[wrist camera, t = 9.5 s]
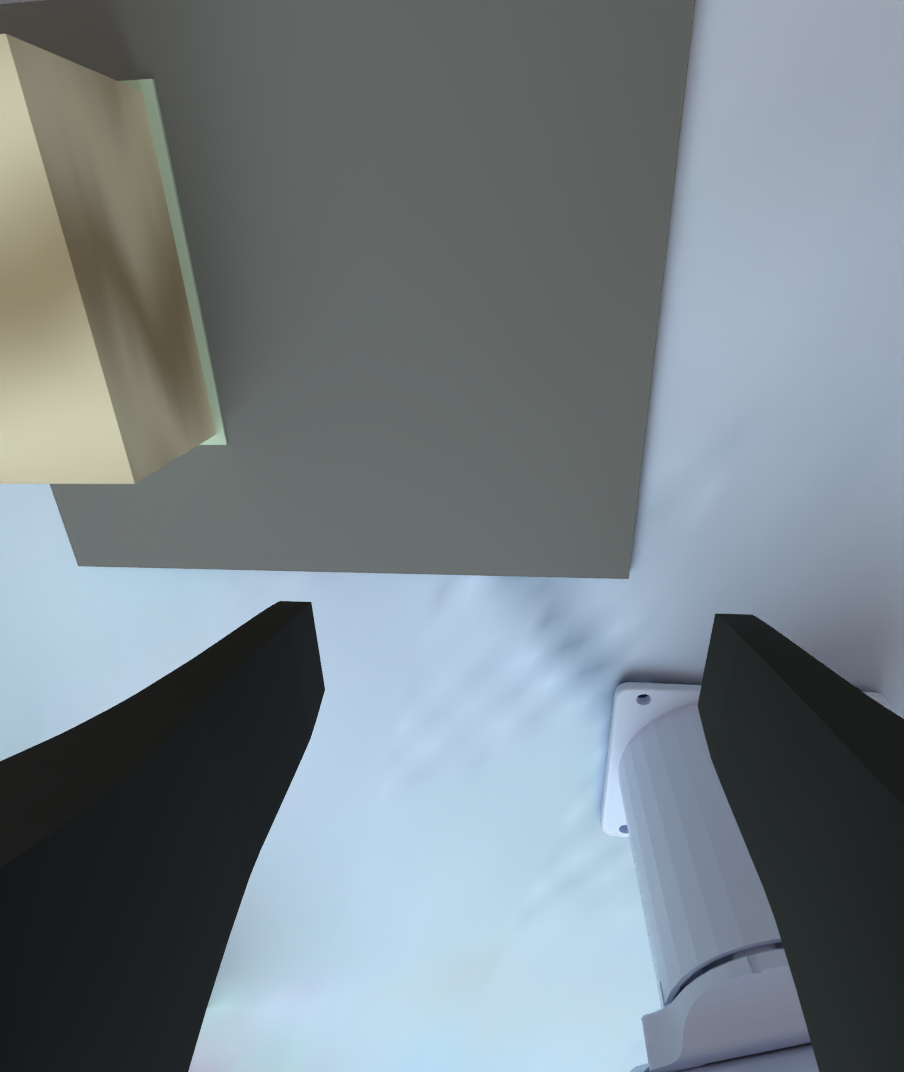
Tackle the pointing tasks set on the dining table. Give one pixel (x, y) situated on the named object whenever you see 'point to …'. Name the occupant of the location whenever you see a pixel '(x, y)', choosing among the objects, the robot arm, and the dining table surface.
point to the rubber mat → (399, 276)
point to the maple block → (88, 284)
